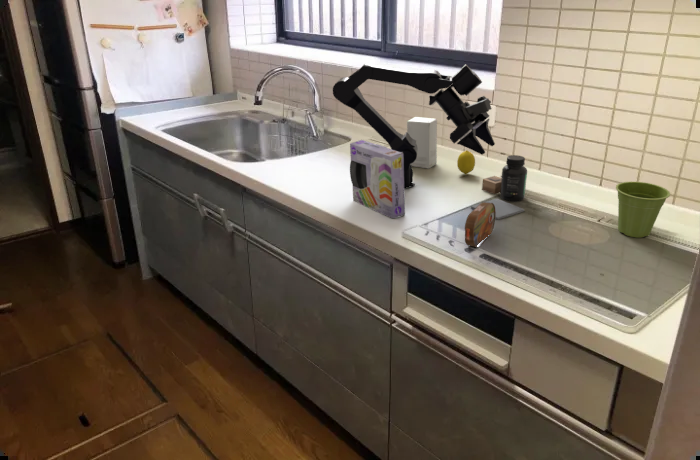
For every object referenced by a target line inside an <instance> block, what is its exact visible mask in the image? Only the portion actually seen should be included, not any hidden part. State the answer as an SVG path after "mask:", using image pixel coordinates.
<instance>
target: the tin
mask: <svg viewBox="0 0 700 460" xmlns="http://www.w3.org/2000/svg"><path fill="white" fill-rule="evenodd" d="M485 202H486V201H483V202H480V203H481V204H480V203H479V204H480V205H478V206H477V207H476V208H475V209H472V210H471V212H470V213H469V214H468V215H467V218H466V220H465V223H464V224H465V225H464V243H465V244H466V245H467V246H469V245H470V247H474V246H475V248H478V247H477V245H478V244H479V243H480V242H481V241H482V240H484V239H485V238H486V237H488V235H490V234H491V235H492V233H493V231H494V227H495V224H496V219H495V217H496V211H495V205H494V204H493V203H485ZM491 235H490V236H491ZM488 238H489V237H488Z"/></svg>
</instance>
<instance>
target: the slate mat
mask: <svg viewBox="0 0 700 460" xmlns="http://www.w3.org/2000/svg"><path fill="white" fill-rule="evenodd" d="M484 202H485V203H493V204H494V205H495V211H496V217H495V218H496V219H495V220H497V219H498V220H501V219H504V218H508V217H510V216H513V215H517V214H520V213H523V212H525V208H522V207H520V206H517V205H515V204H513V203H509V202H508V201H506V200H503V199H502V200H501V198H500V199H499V198H495V199H490V200H488V201H487V200H486V201H484ZM481 203H482V202H480V203H476V204H473V205H471V206H470V209H472V208H473V209H472V210H474V209H475V208H476V207H477V206H478V205H480V204H481Z"/></svg>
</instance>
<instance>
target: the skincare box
mask: <svg viewBox="0 0 700 460" xmlns="http://www.w3.org/2000/svg"><path fill="white" fill-rule="evenodd" d="M406 127H407V128H406V130H407V131H406V132H407V133H408V134H409V135H410V137H411V138H412V139H414V140H416V145H417V147H418V152H417V157H416V160H415V161H414V162H413V163H411V164H410V165H412V167H413V168H414V167H415V168H423V169H427V170H428V169H431V168H432V167H434V166H436V164H437V161H438V160H437V157H438V156H437V155H438V154H437V152H438V151H437V150H438V149H437V148H438V147H437V146H438V118H433V117H431V118H430V117H421V116H414V117H412V118H411V119H409V120H407V121H406Z"/></svg>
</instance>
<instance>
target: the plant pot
mask: <svg viewBox="0 0 700 460" xmlns="http://www.w3.org/2000/svg"><path fill="white" fill-rule="evenodd" d="M615 189H616V191H617V199H618V210H617V211H618V214H617V215H618V217H617V219H618V220H617V222H618V223H617V230H618V232H619V233H623V235H626V236H627V237H631V238H636V239H637V238H638V239H641V238H644V237H649V236H650V234H651V232H652V230H653V228H654V227H655V226H654V225H655V223H656V220H657V219H658V216H659V214H660V213H661V212H660V211H661V210H662V207H663V206H664V205H665V202H666V200H667V199H668V198H670V195H671V192H670V191H669V190H668V189H667V188H666V187H663V186H661V185H657V184H655V183H651V182H643V181H624V182H619V183H617V184H616V186H615Z"/></svg>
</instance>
